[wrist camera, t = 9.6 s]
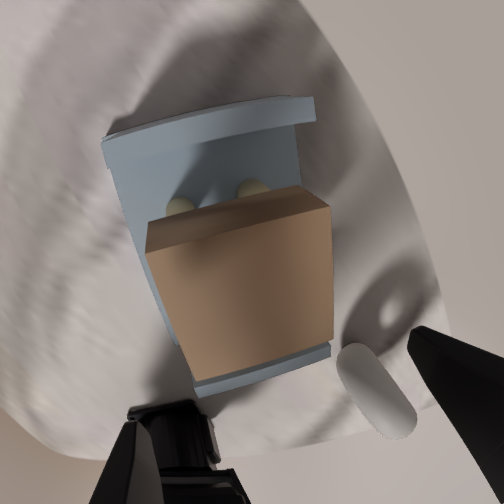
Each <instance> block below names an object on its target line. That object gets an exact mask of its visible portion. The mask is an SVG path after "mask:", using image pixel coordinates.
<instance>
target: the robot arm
mask: <svg viewBox="0 0 504 504" xmlns="http://www.w3.org/2000/svg"><path fill="white" fill-rule="evenodd" d="M407 350H408V353H409V355H410V356H411V358H412V360H413V362H414V364H415V365H416V367H417V369H418V371H419V373H420V375H421V377H422V378H423V380H424V382H425V384H426V386H427V387H428V389H429V390H430V392H431V393H432V395H433V396H434V397H435V399H436V400H437V402H438V403H439V405H440V406H441V408H442V409H443V411H444V412H445V414H446V415H447V417H448V418H449V420H450V421H451V423H452V424H453V426H454V427H455V429H456V431H457V432H458V433H459V435H460V437H461V438H462V440H463V442H464V443H465V445H466V446H467V448H468V449H469V451H470V453H471V454H472V456H473V457H474V459H475V461H476V462H477V464H478V466H479V467H480V469H481V471H482V473H483V474H484V476H485V478H486V479H487V481H488V483H489V484H490V486H491V488H492V489H493V491H494V493H495V495H496V497H497V498H498V500H499V502H500V503H501V504H503V503H504V358H503V357H500V356H498V355H495V354H492V353H490V352H488V351H485V350H483V349H480V348H477V347H475V346H472V345H470V344H467V343H465V342H462V341H460V340H457V339H455V338H452V337H450V336H447V335H445V334H442V333H440V332H437V331H435V330H432V329H430V328H427V327H425V326H418V327H416V328H414V329H412V330H411V332H410V335H409V340H408V344H407ZM127 419H128V420H129V421H127V422H125V423H124V425H123V427H122V429H121V431H120V434H119V436H118V438H117V440H116V442H115V445H114V447H113V449H112V451H111V453H110V456H109V458H108V460H107V462H106V465H105V467H104V469H103V472H102V474H101V476H100V478H99V481H98V483H97V486H96V488H95V490H94V492H93V495H92V497H91V499H90V502H89V504H251V502H250V500H249V498H248V497H247V494H246V492H245V491H244V489H243V487H242V485H241V483H240V481H239V479H238V477H237V475H236V473H235V471H234V469H233V468H231V469H226V470H217V468H216V464H217V463H220V461H221V458H220V454H219V450H218V446H217V441H216V437H215V433H214V429H213V426H212V424H211V423H210V421H209V419H208V417H207V415H205V414H202V413H201V412H200V410H199V408H198V406H197V404H196V402H195V401H193V400H187V401H182V402H178V403H174V404H169V405H164V406H160V407H155V408H150V409H145V410H140V411H134V412H129V413H128V414H127Z"/></svg>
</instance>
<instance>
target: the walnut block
mask: <svg viewBox="0 0 504 504" xmlns="http://www.w3.org/2000/svg"><path fill="white" fill-rule="evenodd" d="M145 257H146V259H147V262H148V265H149V268H150V271H151V273H152V276H153V279H154V282H155V284H156V287H157V290H158V292H159V295H160V297H161V300H162V303H163V305H164V308H165V310H166V313H167V315H168V318H169V320H170V323H171V325H172V328H173V330H174V332H175V335H176V337H177V340H178V342H179V344H180V347H181V349H182V351H183V354H184V356H185V358H186V360H187V363H188V365H189V367H190V369H191V372H192V374H193V376H194V378H195V380H196V382H197V381H201V380H205V379H209V378H212V377H216V376H220V375H224V374H227V373H231V372H234V371H238V370H241V369H245V368H248V367H252V366H255V365H258V364H262V363H265V362H268V361H271V360H274V359H277V358H281V357H284V356H287V355H290V354H293V353H296V352H299V351H302V350H304V349H307V348H310V347H313V346H316V345H319V344H321V343H324V342H327V341H330V340H332V339H333V337H334V293H333V252H332V229H331V211H330V206H329V205H328V204H326V203H325V202H323V201H322V200H320V199H319V198H317V197H316V196H314V195H313V194H311V193H310V192H308V191H307V190H305V189H304V188H302V187H301V186H299V185H294V186H289V187H285V188H280V189H276V190H271V191H267V192H263V193H258V194H254V195H250V196H246V197H241V198H237V199H233V200H229V201H225V202H221V203H217V204H213V205H209V206H205V207H201V208H197V209H193V210H190V211H186V212H182V213H178V214H174V215H171V216H167V217H163V218H160V219H156V220H153V221H149V222H148V228H147V236H146V245H145Z"/></svg>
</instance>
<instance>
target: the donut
mask: <svg viewBox="0 0 504 504" xmlns="http://www.w3.org/2000/svg"><path fill="white" fill-rule="evenodd" d="M336 366H337V372H338V375H339V377H340V379H341V381H342V383H343V385H344V386H345V388H346V390H347V392H348V393H349V395H350V396H351V398H352V399H353V401H354V403H355V404H356V405H357V407H358V408H359V410H360V411H361V412H362V414H363V415H364V416H365V418H366V419H367V420H368V421H369V423H370V424H371V425H372V426H373V427H374V428H375V429H376V431H377V432H379V433H380V434H381V435H382V436H383V437H385V438H387V439H391V440H399V439H403V438H405V437H407V436H408V435H410V434H411V433H412V432H413V430H414V428H415V427H416V423H417V414H416V411H415V409H414V408H413V406H412V405H411V403H410V402H409V401H408V399H407V398H406V396H405V395H404V394H403V392H402V391H401V390H400V388H399V387H398V385H397V384H396V383H395V381H394V380H393V379H392V377H391V376H390V374H389V373H388V372H387V370H386V369H385V368H384V366H383V365H382V364H381V362H380V361H379V360H378V358H377V357H376V356H375V354H374V353H373V352H372V350H371V349H370V348H369V347H368V346H366V345H364V344H362V343H352V344H349V345H347V346H345V347H344V348H343V349H342V350H341V351H340V352H339V354H338V356H337V361H336Z"/></svg>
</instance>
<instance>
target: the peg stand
mask: <svg viewBox="0 0 504 504" xmlns="http://www.w3.org/2000/svg"><path fill="white" fill-rule="evenodd" d="M313 121H316V114H315V106H314V99H313V96H304V97H290V95H283V96H275V97H268V98H261V99H255V100H249V101H243V102H237V103H232V104H227V105H222V106H217V107H212V108H207V109H202V110H198V111H193V112H189V113H185V114H181V115H177V116H173V117H169V118H165V119H161V120H157V121H154V122H150V123H147V124H143V125H140V126H136V127H133V128H130V129H126V130H123V131H120V132H117V133H114V134H111V135H108V136H105V137H103V138H102V140H103V142H101V147H102V150H103V154H104V158H105V161H106V165H107V169H109V168H110V170H111V173H112V177H113V180H114V184H115V187H116V190H117V194H118V197H119V200H120V203H121V206H122V209H123V212H124V216H125V219H126V222H127V225H128V228H129V230H130V233H131V236H132V239H133V242H134V245H135V248H136V250H137V253H138V256H139V259H140V261H141V264H142V267H143V269H144V272H145V275H146V277H147V280H148V282H149V285H150V288H151V290H152V293H153V295H154V298H155V300H156V302H157V305H158V307H159V310H160V312H161V314H162V317H163V319H164V322H165V324H166V326H167V328H168V331H169V333H170V335H171V338H172V340H173V342H174V344H175V345H179V342H178V340H177V337H176V335H175V332H174V330H173V328H172V325H171V323H170V320H169V318H168V315H167V313H166V310H165V308H164V305H163V303H162V300H161V297H160V295H159V292H158V290H157V287H156V284H155V282H154V279H153V276H152V273H151V271H150V268H149V265H148V262H147V259H146V257H145V245H146V236H147V228H148V222H149V221H153V220H156V219H160V218H163V217H167V216H171V215H174V214H178V213H182V212H186V211H190V210H193V209H197V208H201V207H205V206H209V205H213V204H217V203H221V202H225V201H229V200H233V199H237V198H241V197H246V196H250V195H254V194H258V193H263V192H267V191H271V190H276V189H280V188H285V187H289V186H294V185H299V186H301V187H302V181H301V173H300V165H299V157H298V149H297V142H296V134H295V127H294V124H299V123H306V122H313ZM329 357H331V345H330V344H329V342H328V341H327V342H324V343H321V344H319V345H316V346H313V347H310V348H307V349H304V350H302V351H299V352H296V353H293V354H290V355H287V356H284V357H281V358H277V359H274V360H271V361H268V362H265V363H262V364H258V365H255V366H252V367H248V368H245V369H241V370H238V371H234V372H231V373H227V374H224V375H220V376H216V377H212V378H209V379H205V380H201V381H197V382H196V380H195V378H194V376H193V374H192V372H191V376H192V382H193V388H194V390H195V392H196V394H197V396H198V398H202V397H206V396H210V395H214V394H218V393H221V392H225V391H229V390H232V389H236V388H239V387H243V386H246V385H249V384H253V383H256V382H259V381H263V380H266V379H269V378H272V377H275V376H278V375H281V374H284V373H287V372H290V371H293V370H296V369H299V368H301V367H304V366H307V365H310V364H313V363H315V362H318V361H321V360H323V359H326V358H329ZM190 370H191V369H190Z"/></svg>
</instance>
